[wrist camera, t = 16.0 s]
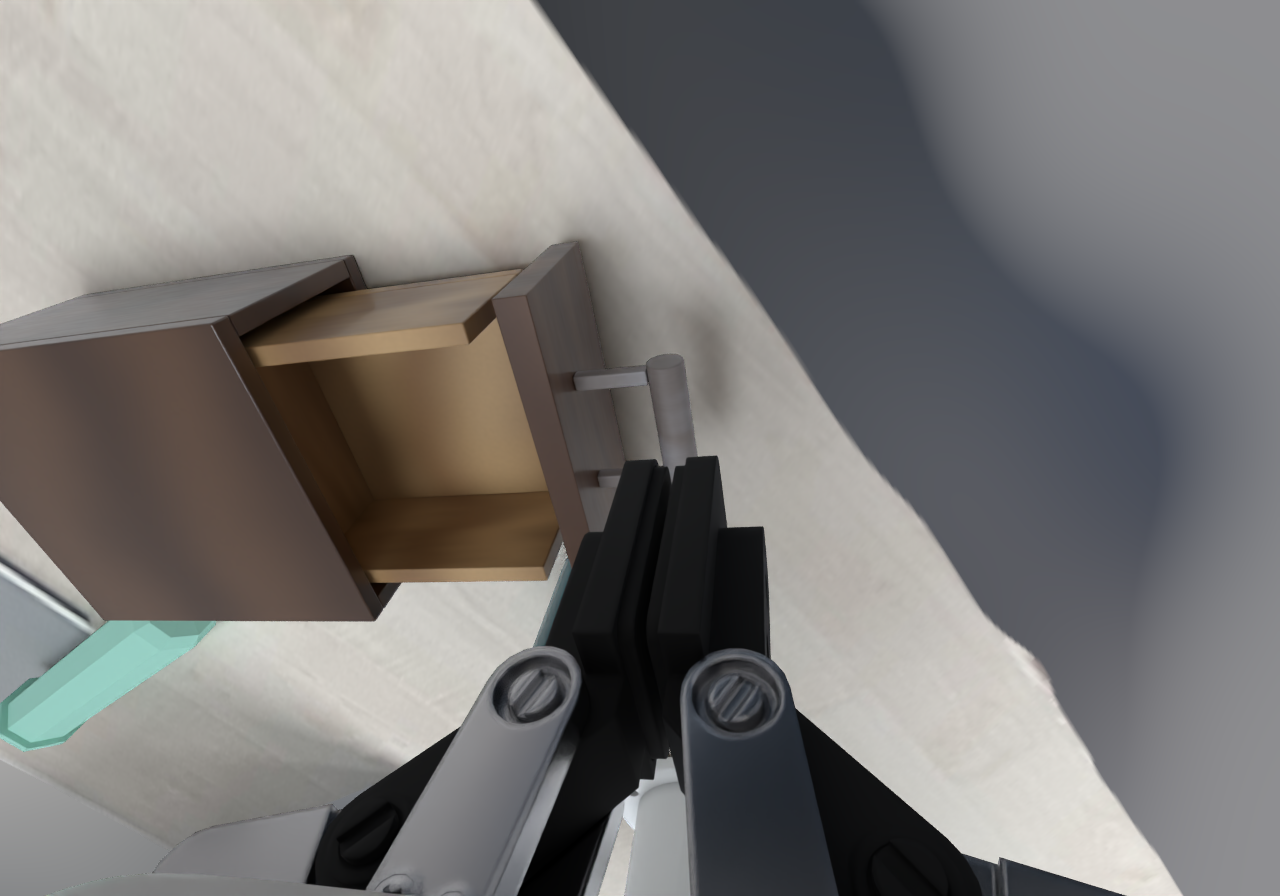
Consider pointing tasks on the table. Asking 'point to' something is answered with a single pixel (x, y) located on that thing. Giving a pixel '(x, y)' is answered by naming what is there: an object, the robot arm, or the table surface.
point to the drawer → (463, 418)
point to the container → (93, 679)
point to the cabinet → (174, 454)
